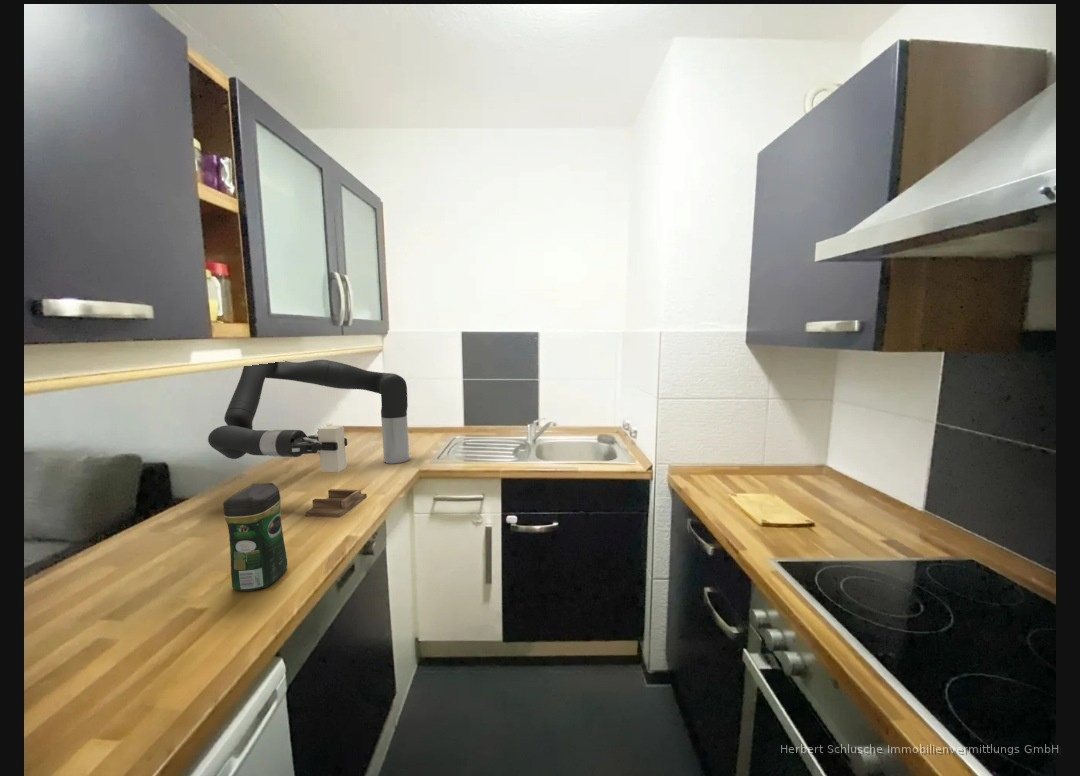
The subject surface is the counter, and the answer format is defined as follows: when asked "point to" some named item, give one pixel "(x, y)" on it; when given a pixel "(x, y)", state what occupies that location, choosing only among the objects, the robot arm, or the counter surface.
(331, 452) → the white rectangular block
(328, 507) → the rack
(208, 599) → the counter surface
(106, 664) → the counter surface
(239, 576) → the coffee jar
